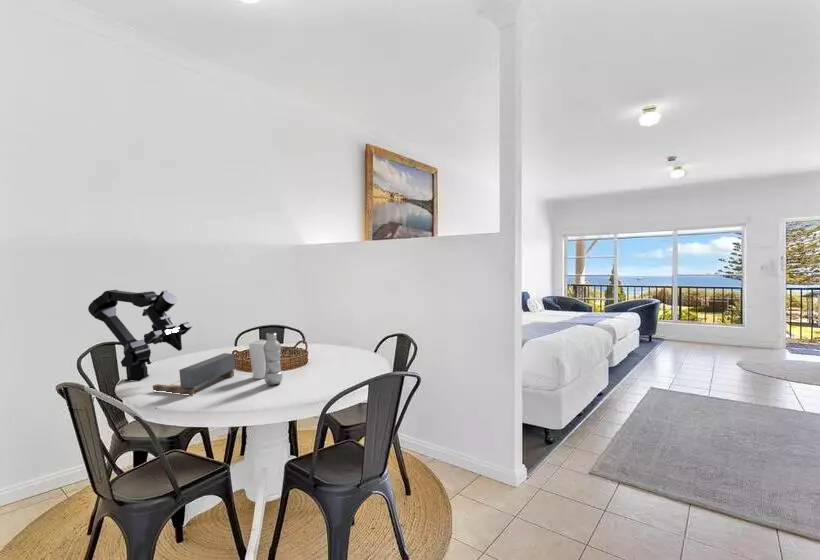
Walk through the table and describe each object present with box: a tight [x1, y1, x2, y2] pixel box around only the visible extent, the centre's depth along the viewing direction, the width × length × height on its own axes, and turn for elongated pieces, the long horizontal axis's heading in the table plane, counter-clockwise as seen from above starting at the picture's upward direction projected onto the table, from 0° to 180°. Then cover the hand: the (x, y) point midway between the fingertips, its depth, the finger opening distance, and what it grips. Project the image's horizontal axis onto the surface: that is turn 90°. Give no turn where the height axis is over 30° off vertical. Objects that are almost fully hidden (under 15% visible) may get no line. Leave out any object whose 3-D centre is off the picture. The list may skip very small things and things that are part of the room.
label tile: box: [169, 380, 181, 386], centre depth 166 cm, size 8×11×1 cm
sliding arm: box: [179, 352, 236, 388], centre depth 163 cm, size 5×23×6 cm, turn 164°
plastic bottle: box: [263, 332, 283, 386], centre depth 161 cm, size 6×7×20 cm
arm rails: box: [152, 369, 235, 396], centre depth 165 cm, size 18×22×2 cm
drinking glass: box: [248, 339, 267, 380], centre depth 170 cm, size 7×7×15 cm
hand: (180, 350), depth 166 cm, fingers closed
